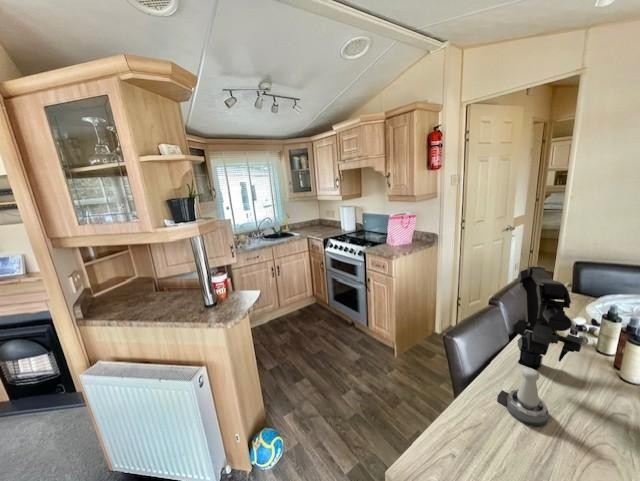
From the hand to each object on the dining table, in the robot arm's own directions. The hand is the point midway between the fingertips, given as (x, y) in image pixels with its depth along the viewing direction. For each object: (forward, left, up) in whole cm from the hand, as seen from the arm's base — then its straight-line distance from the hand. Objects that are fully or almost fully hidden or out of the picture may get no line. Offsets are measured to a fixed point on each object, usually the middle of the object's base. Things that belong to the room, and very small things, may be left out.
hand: (543, 355), depth 97 cm
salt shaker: (+1, -17, -10) cm, 20 cm away
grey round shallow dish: (-1, -17, -13) cm, 22 cm away
